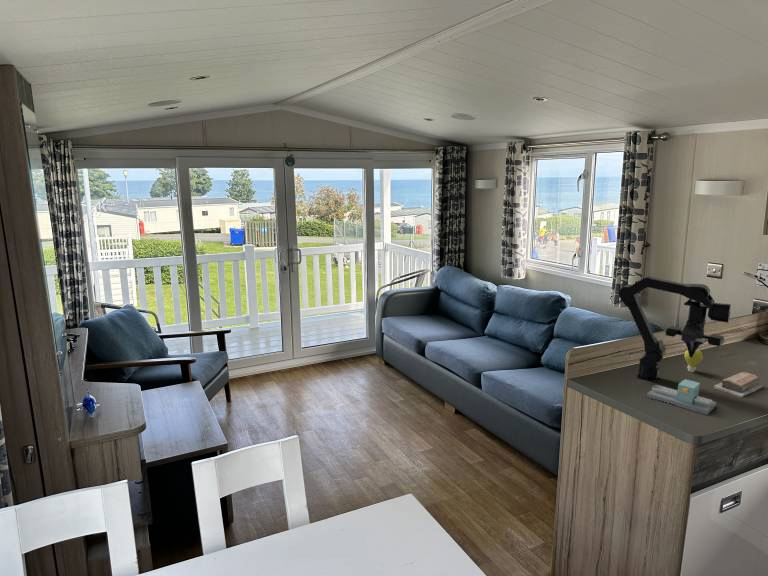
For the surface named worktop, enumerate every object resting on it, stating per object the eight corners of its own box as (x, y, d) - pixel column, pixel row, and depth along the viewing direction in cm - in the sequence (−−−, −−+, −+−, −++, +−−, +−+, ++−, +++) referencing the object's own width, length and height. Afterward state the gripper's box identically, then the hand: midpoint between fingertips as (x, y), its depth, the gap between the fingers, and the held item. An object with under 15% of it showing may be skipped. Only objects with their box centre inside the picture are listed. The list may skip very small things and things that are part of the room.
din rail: (651, 391, 200) (652, 387, 199) (655, 388, 202) (655, 384, 202) (708, 407, 186) (709, 403, 186) (712, 404, 189) (712, 400, 189)
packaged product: (737, 368, 215) (765, 376, 207) (735, 379, 217) (763, 388, 209) (715, 377, 206) (743, 386, 198) (713, 389, 207) (741, 398, 199)
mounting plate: (646, 397, 198) (647, 393, 198) (656, 389, 205) (657, 385, 205) (707, 414, 184) (707, 410, 184) (715, 406, 191) (716, 402, 191)
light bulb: (699, 369, 226) (703, 347, 223) (701, 375, 220) (704, 352, 218) (681, 367, 228) (684, 344, 226) (682, 372, 222) (686, 349, 220)
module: (675, 400, 192) (677, 384, 190) (682, 394, 197) (684, 379, 196) (690, 405, 188) (693, 389, 187) (697, 398, 194) (700, 383, 192)
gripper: (662, 316, 203) (657, 355, 207) (718, 327, 190) (712, 368, 194) (672, 311, 211) (667, 349, 214) (727, 321, 198) (721, 361, 201)
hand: (691, 357), depth 206 cm, fingers closed
